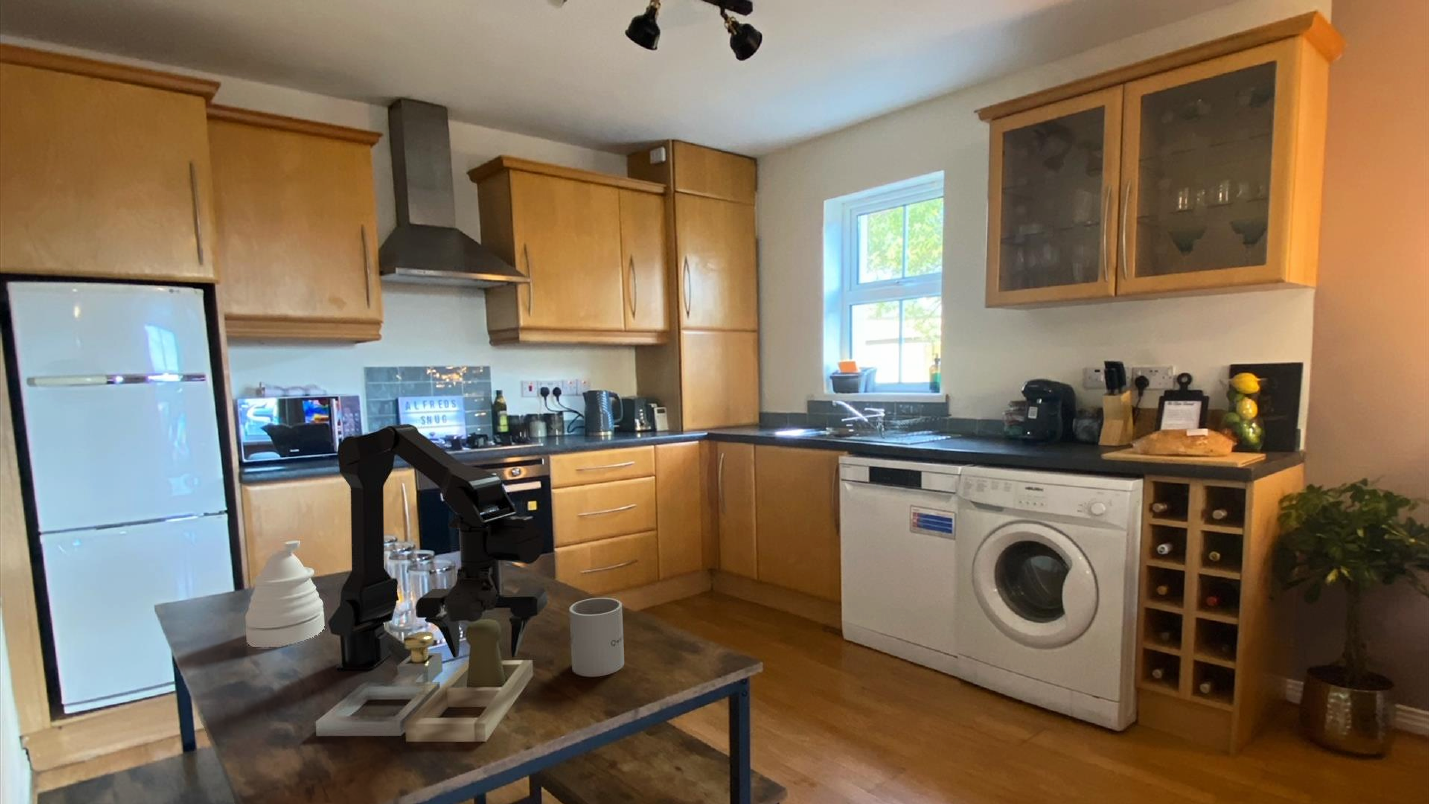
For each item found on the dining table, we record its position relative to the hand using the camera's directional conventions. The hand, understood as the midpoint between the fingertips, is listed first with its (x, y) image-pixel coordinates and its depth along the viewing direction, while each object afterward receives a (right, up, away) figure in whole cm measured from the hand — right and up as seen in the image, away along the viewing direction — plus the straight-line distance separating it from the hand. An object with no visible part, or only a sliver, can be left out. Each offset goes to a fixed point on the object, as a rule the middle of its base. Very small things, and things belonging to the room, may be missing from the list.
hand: (485, 656), depth 108 cm
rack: (0, -6, -4) cm, 7 cm away
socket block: (-13, -6, -2) cm, 14 cm away
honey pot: (-47, -6, +27) cm, 55 cm away
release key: (-12, -5, +6) cm, 15 cm away
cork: (0, -6, 0) cm, 6 cm away
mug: (+17, -5, +10) cm, 20 cm away
